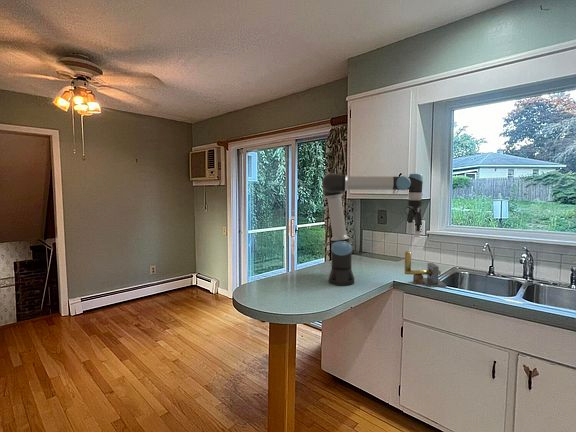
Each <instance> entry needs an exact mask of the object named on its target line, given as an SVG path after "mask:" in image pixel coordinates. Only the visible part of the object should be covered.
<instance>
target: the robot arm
mask: <svg viewBox="0 0 576 432" xmlns="http://www.w3.org/2000/svg"><path fill="white" fill-rule="evenodd" d="M423 179H424V177H423V174H422V173H410V174H409V176H402V175H401V176H375V175H374V176H373V175H372V176H370V175H368V176H362V175H361V176H360V175H359V176H354V175H353V176H348V175H347V174H338V173H333V172H332V173H327V174H326V175H324V177H323V178H322V181H321V185H322V188H323V194H324V195H323V196H324V198H325V199H327V204H328V205H327V207H328V213H329V218H330V219H329V220H330V226H331V235H332V237H331V238H330V244H331V248H330V249H331V269H330V273H329V275H328V283H329V284H331V285H333V284H334V286H339V287H341V286H342V287H345V286H351V285H353V284H355V277H354V274H353V270H352V262H353V261H352V260H353V259H352V255H353V254H352V249H353V246H352V244H351V241H350V236H348V235H347V231H346V230H347V229H346V222H345V215H344V207H343V201H342V197H343V195H344V192H346V191H348V190H349V191H351V190H352V191H353V190H354V191H356V190H357V191H358V190H359V191H361V190H362V191H363V190H366V191H367V190H368V191H371V190H372V191H375V190H376V191H377V190H378V191H390V190H391V191H407V190H408V195H407V197H408V198H407V199H408V201H407V202H408V203H407V205H408V213H407V218H406V222H407V234H413V227H414V238H417V237H418V238H419V237H421V226H422V225H423V220H422V212H421V211H422V210H421V208H419V207H422V205H423V204H422V203H423V202H422V199H423V184H424V181H423ZM413 220H414V221H413ZM414 223H415V224H414Z"/></svg>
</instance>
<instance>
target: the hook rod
mask: <svg viewBox="0 0 576 432" xmlns="http://www.w3.org/2000/svg"><path fill="white" fill-rule="evenodd" d="M403 273H404V275H423V276H424V275H426V276H427V275H431V270H427V269H426V270H423V269H422V270H421V269H420V270H417V269H416V270H415V269H413V270H412V251H407V250H406V251H404V272H403ZM438 276H441V270H439V273H438Z"/></svg>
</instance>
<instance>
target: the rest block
mask: <svg viewBox="0 0 576 432" xmlns="http://www.w3.org/2000/svg"><path fill="white" fill-rule="evenodd" d="M412 275H413V274H412ZM423 278H424V275H413V279H412V280H413V281H412V282H414V284H415V285H417V284H418V285H424V283H423Z"/></svg>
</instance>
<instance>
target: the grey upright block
mask: <svg viewBox="0 0 576 432" xmlns="http://www.w3.org/2000/svg"><path fill="white" fill-rule="evenodd" d="M426 268H427V269H426V270H431V275H426V277H423V285H426V287H439V288H441V287H442V288H443V287H444V288H445V287H447V284H446V283H444V282H443V281H442V280H441V279H439V275H438V273H439V271H440V270H439V268H440V266H438V265H436V264H435V263H433V262H427V267H426Z"/></svg>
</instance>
